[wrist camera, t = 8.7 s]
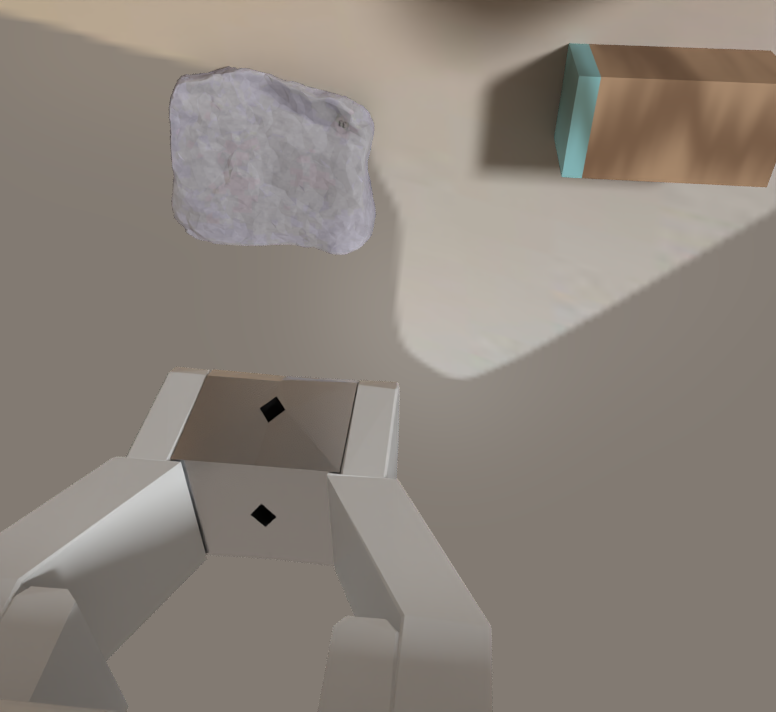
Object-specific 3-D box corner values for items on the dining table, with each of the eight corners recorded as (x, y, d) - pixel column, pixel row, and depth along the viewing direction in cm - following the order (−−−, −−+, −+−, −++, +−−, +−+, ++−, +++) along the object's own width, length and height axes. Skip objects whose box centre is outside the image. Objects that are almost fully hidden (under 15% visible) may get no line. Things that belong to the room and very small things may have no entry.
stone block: (178, 54, 41) (190, 223, 46) (149, 64, 37) (165, 249, 42) (384, 69, 41) (375, 237, 46) (379, 80, 37) (370, 264, 42)
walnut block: (578, 75, 33) (804, 85, 32) (569, 43, 37) (770, 50, 36) (561, 177, 36) (766, 187, 36) (554, 137, 40) (739, 145, 39)
